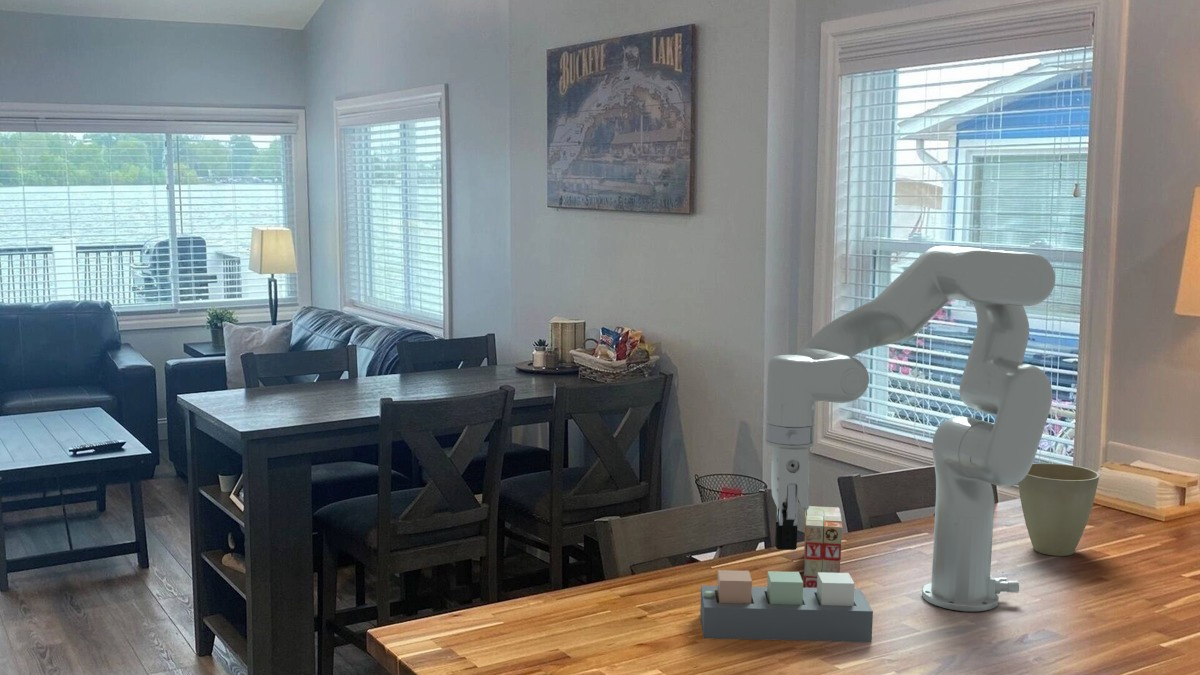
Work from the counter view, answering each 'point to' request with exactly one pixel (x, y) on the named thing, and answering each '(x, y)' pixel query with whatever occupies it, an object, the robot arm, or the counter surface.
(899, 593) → the counter surface
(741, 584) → the beige cube
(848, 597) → the key cream
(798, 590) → the key sage
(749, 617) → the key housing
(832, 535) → the stack of blocks
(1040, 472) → the plant pot
